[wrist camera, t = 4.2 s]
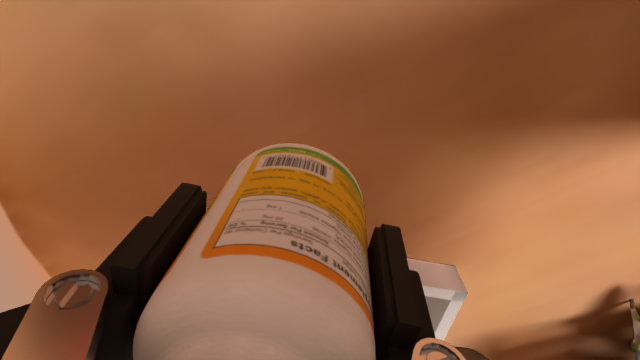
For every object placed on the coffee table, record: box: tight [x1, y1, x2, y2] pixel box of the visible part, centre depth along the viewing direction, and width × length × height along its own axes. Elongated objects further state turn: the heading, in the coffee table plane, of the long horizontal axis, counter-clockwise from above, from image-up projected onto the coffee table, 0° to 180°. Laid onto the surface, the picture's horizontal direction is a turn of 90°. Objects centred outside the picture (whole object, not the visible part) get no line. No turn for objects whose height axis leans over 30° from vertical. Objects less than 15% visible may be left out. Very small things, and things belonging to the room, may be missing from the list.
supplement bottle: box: [133, 143, 376, 360], centre depth 10 cm, size 5×5×10 cm
